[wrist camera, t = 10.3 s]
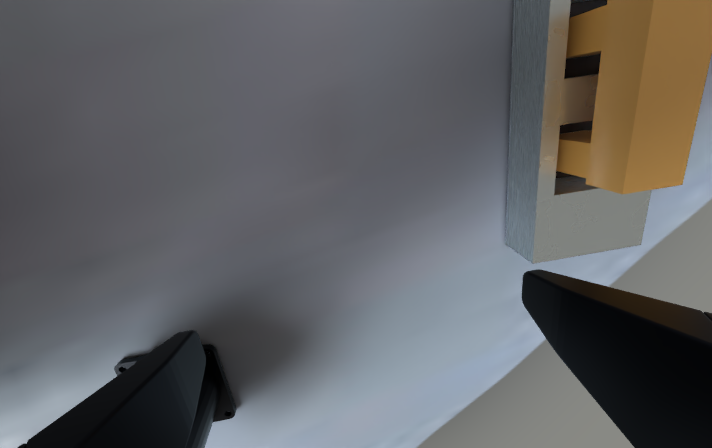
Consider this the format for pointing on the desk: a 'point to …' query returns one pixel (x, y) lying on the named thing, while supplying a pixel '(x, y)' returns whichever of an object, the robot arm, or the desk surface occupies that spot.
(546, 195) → the rail
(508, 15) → the desk surface
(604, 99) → the clip
